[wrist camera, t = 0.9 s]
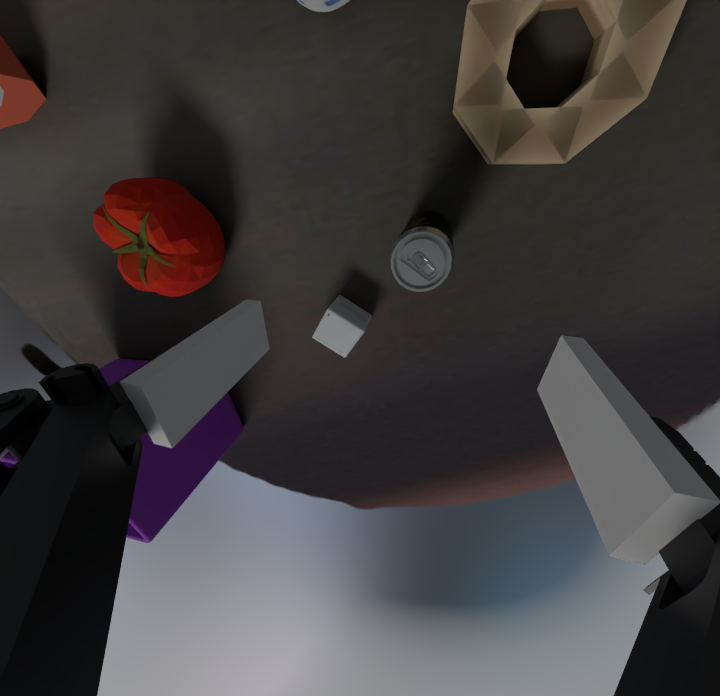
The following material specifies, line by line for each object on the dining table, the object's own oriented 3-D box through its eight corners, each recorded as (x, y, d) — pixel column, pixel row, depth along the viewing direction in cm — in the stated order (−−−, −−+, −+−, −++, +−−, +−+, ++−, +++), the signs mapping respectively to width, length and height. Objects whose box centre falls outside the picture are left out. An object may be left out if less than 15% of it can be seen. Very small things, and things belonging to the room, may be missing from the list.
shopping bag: (203, 339, 51) (-22, 498, 26) (258, 427, 61) (132, 603, 36) (108, 359, 61) (-120, 487, 36) (168, 431, 71) (21, 572, 46)
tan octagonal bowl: (474, -53, 22) (479, -87, 19) (695, -86, 19) (740, -132, 16) (445, 164, 29) (445, 163, 26) (600, 163, 26) (620, 163, 24)
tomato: (243, 286, 43) (194, 315, 34) (168, 270, 45) (102, 294, 36) (231, 183, 36) (163, 187, 27) (141, 169, 37) (50, 169, 29)
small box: (322, 322, 43) (310, 338, 39) (339, 292, 40) (327, 306, 36) (354, 342, 44) (345, 360, 39) (373, 314, 40) (365, 331, 36)
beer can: (461, 234, 32) (469, 262, 22) (425, 268, 35) (418, 306, 25) (428, 199, 31) (422, 212, 21) (394, 236, 34) (375, 263, 24)
